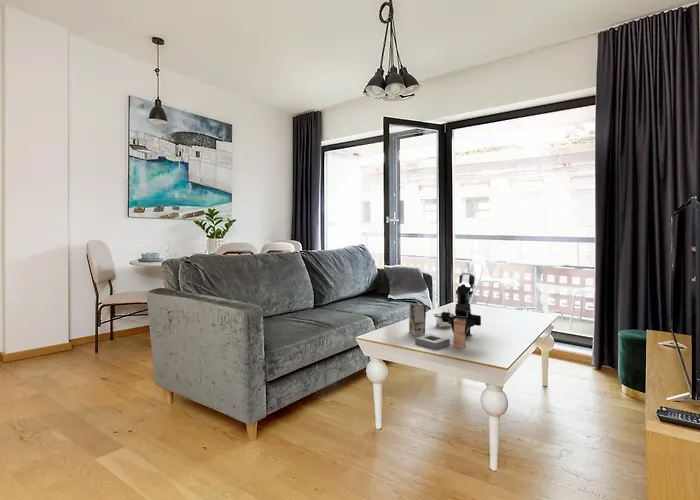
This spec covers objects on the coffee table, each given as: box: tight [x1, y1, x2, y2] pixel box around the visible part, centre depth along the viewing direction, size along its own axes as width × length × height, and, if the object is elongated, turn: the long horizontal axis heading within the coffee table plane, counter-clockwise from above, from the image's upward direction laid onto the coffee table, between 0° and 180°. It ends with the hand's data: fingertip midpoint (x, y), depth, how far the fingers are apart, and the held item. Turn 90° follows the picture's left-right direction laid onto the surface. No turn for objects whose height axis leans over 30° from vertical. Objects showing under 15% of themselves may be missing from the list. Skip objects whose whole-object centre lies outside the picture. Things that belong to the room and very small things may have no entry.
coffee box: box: [408, 302, 427, 337], centre depth 215 cm, size 9×6×16 cm
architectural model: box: [433, 308, 455, 328], centre depth 234 cm, size 20×25×10 cm
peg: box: [452, 318, 466, 349], centre depth 193 cm, size 5×5×13 cm
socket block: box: [414, 333, 451, 350], centre depth 196 cm, size 12×12×3 cm
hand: (459, 333), depth 192 cm, fingers closed on peg, 5 cm apart
